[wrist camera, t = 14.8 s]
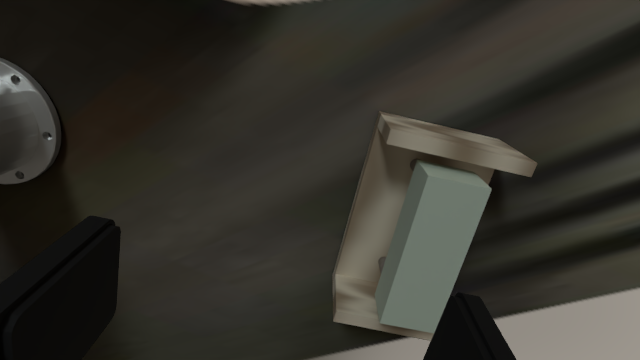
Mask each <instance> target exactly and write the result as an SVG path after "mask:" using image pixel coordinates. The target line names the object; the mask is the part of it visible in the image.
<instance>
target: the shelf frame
mask: <svg viewBox="0 0 640 360" xmlns="http://www.w3.org/2000/svg"><path fill="white" fill-rule="evenodd" d="M417 160H421V161H426V162H430V163H435V164H440V165H445V166H449V167H454V168H459V169H464V170H468V171H473V172H475V173H476V174H477V175H478V176H479V177H480V178H481V179H482V180H483V181H484V182H485V183H486V184H487V185H488V184H489V182H490V180H491V177H492V175H493V172H494V170H495V169H498V170H502V171H506V172H511V173H515V174H520V175H524V176H528V177H532V174H533V172H534V170H535V168H536V165H537V163H536V162H535V161H533V160H531V159H530V158H528V157H527V156H525V155H523V154H522V153H520V152H519V151H517V150H515V149H514V148H512V147H510V146H509V145H507V144H506V143H504V142H502V141H501V140H499V139H496V138H491V137H487V136H483V135H479V134H474V133H470V132H466V131H462V130H457V129H453V128H449V127H445V126H440V125H436V124H432V123H428V122H423V121H419V120H415V119H411V118H406V117H402V116H398V115H393V114H389V113H385V112H381V111H379V113H378V117H377V120H376V124H375V127H374V131H373V134H372V138H371V141H370V145H369V148H368V152H367V155H366V159H365V162H364V166H363V169H362V173H361V177H360V180H359V184H358V187H357V191H356V194H355V198H354V201H353V205H352V208H351V212H350V215H349V219H348V222H347V226H346V229H345V233H344V236H343V240H342V244H341V247H340V251H339V254H338V258H337V261H336V265H335V268H334V272H333V321H334V322H339V323H344V324H349V325H354V326H359V327H364V328H369V329H374V330H379V331H384V332H389V333H394V334H399V335H404V336H409V337H414V338H419V339H424V340H429V341H431V340H432V337H433V335H434V333H429V332H424V331H418V330H413V329H408V328H402V327H397V326H392V325H386V324H381V323H380V322H379V316H378V311H377V305H376V299H375V292H376V289H377V286H378V282H379V279H380V276H381V273H382V270H383V266H384V263H385V260H386V257H387V254H388V251H389V247H390V244H391V241H392V238H393V235H394V231H395V228H396V225H397V222H398V219H399V215H400V212H401V209H402V206H403V203H404V199H405V196H406V193H407V190H408V187H409V184H410V180H411V177H412V174H413V171H414V168H415V164H416V161H417Z"/></svg>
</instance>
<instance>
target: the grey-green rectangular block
mask: <svg viewBox="0 0 640 360" xmlns="http://www.w3.org/2000/svg"><path fill="white" fill-rule="evenodd" d="M491 190H492V189H491V188H490V187H489V186H488V185H487V184H486V183H485V182H484V181H483V180H482V179H481V178H480V177H479V176H478V175H477V174H476V173H475V172H473V171H468V170H464V169H459V168H454V167H449V166H445V165H440V164H435V163H430V162H426V161H421V160H417V161H416V164H415V168H414V171H413V174H412V177H411V180H410V184H409V187H408V190H407V193H406V196H405V199H404V203H403V206H402V209H401V212H400V215H399V219H398V222H397V225H396V228H395V231H394V235H393V238H392V241H391V244H390V247H389V251H388V254H387V257H386V260H385V263H384V266H383V270H382V273H381V276H380V279H379V282H378V286H377V289H376V292H375V299H376V305H377V311H378V316H379V322H380V323H381V324H386V325H392V326H397V327H402V328H408V329H413V330H418V331H424V332H429V333H434V332H435V330H436V328H437V325H438V323H439V320H440V318H441V316H442V313H443V311H444V308H445V306H446V304H447V301H448V299H449V297H450V294H451V292H452V289H453V287H454V284H455V281H456V279H457V276H458V274H459V271H460V269H461V266H462V264H463V261H464V259H465V256H466V254H467V251H468V249H469V246H470V244H471V241H472V238H473V236H474V233H475V231H476V228H477V226H478V223H479V221H480V218H481V216H482V213H483V211H484V208H485V206H486V203H487V200H488V198H489V195H490V193H491Z"/></svg>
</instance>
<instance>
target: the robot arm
mask: <svg viewBox="0 0 640 360" xmlns="http://www.w3.org/2000/svg"><path fill="white" fill-rule="evenodd" d="M60 145H61V127H60V121H59V118H58V115H57V112H56V109H55V107H54V105H53V103H52V101H51V100H50V98H49V96H48V95H47V93H46V92H45V91H44V89H43V88H42V87H41V85H40V84H39V83H38V82H37V81H36V80H35V79H34V78H33V77H32V76H31V75H29V74H28V73H27V72H25V71H24V70H23V69H21V68H20V67H18V66H17V65H15V64H13V63H11V62H9V61H7V60H5V59H2V58H0V184H18V183H22V182H26V181H29V180H31V179H33V178H35V177H38V176H39V175H41V174H42V173H44V172H45V171H47V169H48V168H49V167H50V166H51V165H52V164H53V163H54V161H55V159H56V157H57V155H58V152H59V149H60ZM120 234H121V231H120V227H118V226H115V222H114V221H113V220H111V219H106V218H101V217H97V216H89V217H87V218H86V219H84V220H83V221H82V222H81V223H79V224H78V225H77V226H75V227H74V228H73V229H71V230H70V231H69V232H67V233H66V234H65V235H64V236H62V237H61V238H60V239H58V240H57V241H56V242H54V243H53V244H52V245H50V246H49V247H48V248H47V249H45V250H44V251H43V252H41V253H40V254H39V255H37V256H36V257H35V258H34V259H32V260H31V261H30V262H28V263H27V264H26V265H24V266H23V267H22V268H20V269H19V270H18V271H17V272H15V273H14V274H13V275H11V276H10V277H9V278H7V279H6V280H5V281H3V282H2V283H1V284H0V360H81V359H82V358H83V357H84V355H85V354H86V353H87V351H88V350H89V349H90V347H91V346H92V345H93V343H94V342H95V341H96V339H97V338H98V337H99V335H100V334H101V333H102V331H103V330H104V329H105V328H106V326H107V325H108V324H109V322H110V321H111V319H112V318H113V316H114V313H115V310H116V303H117V286H118V268H119V251H120ZM423 360H516V358H515V356H514V355H513V353H512V351H511V350H510V348H509V346H508V344H507V343H506V341H505V339H504V338H503V336H502V334H501V332H500V330H499V329H498V327H497V325H496V324H495V322H494V320H493V318H492V317H491V315H490V313H489V311H488V310H487V308H486V306H485V305H484V303H483V301H482V299H481V298H480V297H478V296H474V295H469V294H465V293H457V294H456V295H455V297H454V296H451V297H450V298H449V299H448V301H447V304H446V306H445V308H444V311H443V313H442V316H441V318H440V320H439V323H438V325H437V328H436V330H435V332H434V335H433V337H432V340H431V342H430V344H429V347H428V349H427V352H426V354H425V356H424V359H423Z"/></svg>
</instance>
